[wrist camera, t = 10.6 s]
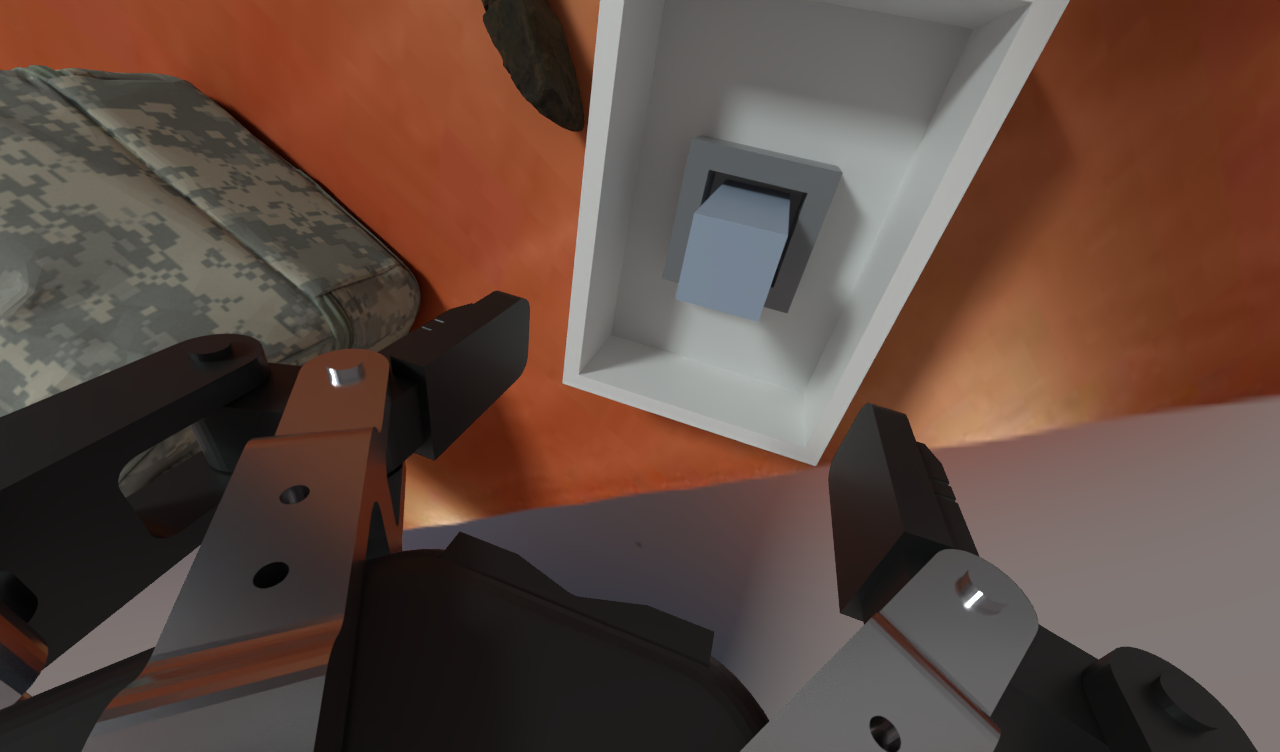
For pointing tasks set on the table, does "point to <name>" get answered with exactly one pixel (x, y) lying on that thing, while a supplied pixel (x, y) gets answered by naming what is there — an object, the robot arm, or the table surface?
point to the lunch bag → (167, 242)
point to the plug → (735, 249)
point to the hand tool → (536, 57)
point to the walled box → (784, 161)
